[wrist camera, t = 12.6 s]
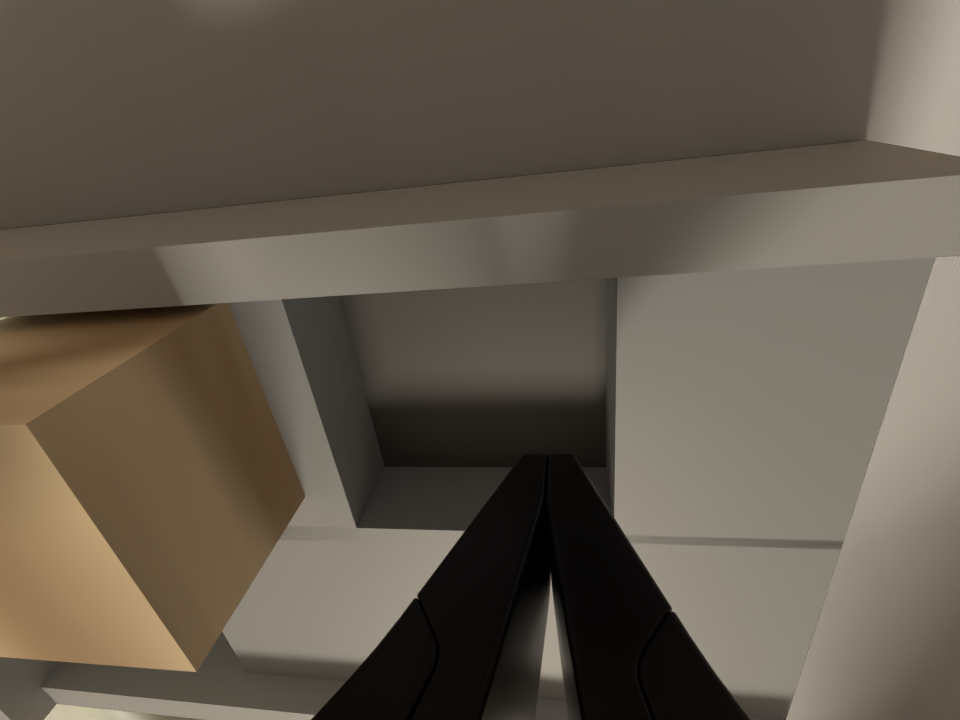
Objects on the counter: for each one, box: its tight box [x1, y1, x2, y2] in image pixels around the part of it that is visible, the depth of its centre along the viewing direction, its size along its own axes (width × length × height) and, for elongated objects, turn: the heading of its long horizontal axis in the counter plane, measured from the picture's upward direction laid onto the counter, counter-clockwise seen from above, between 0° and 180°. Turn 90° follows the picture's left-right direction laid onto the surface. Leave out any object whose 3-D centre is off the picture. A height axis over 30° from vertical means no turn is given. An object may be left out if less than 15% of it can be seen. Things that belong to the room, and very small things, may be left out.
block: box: [0, 303, 306, 672], centre depth 9 cm, size 5×5×4 cm
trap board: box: [0, 140, 960, 720], centre depth 12 cm, size 24×15×4 cm, turn 97°
